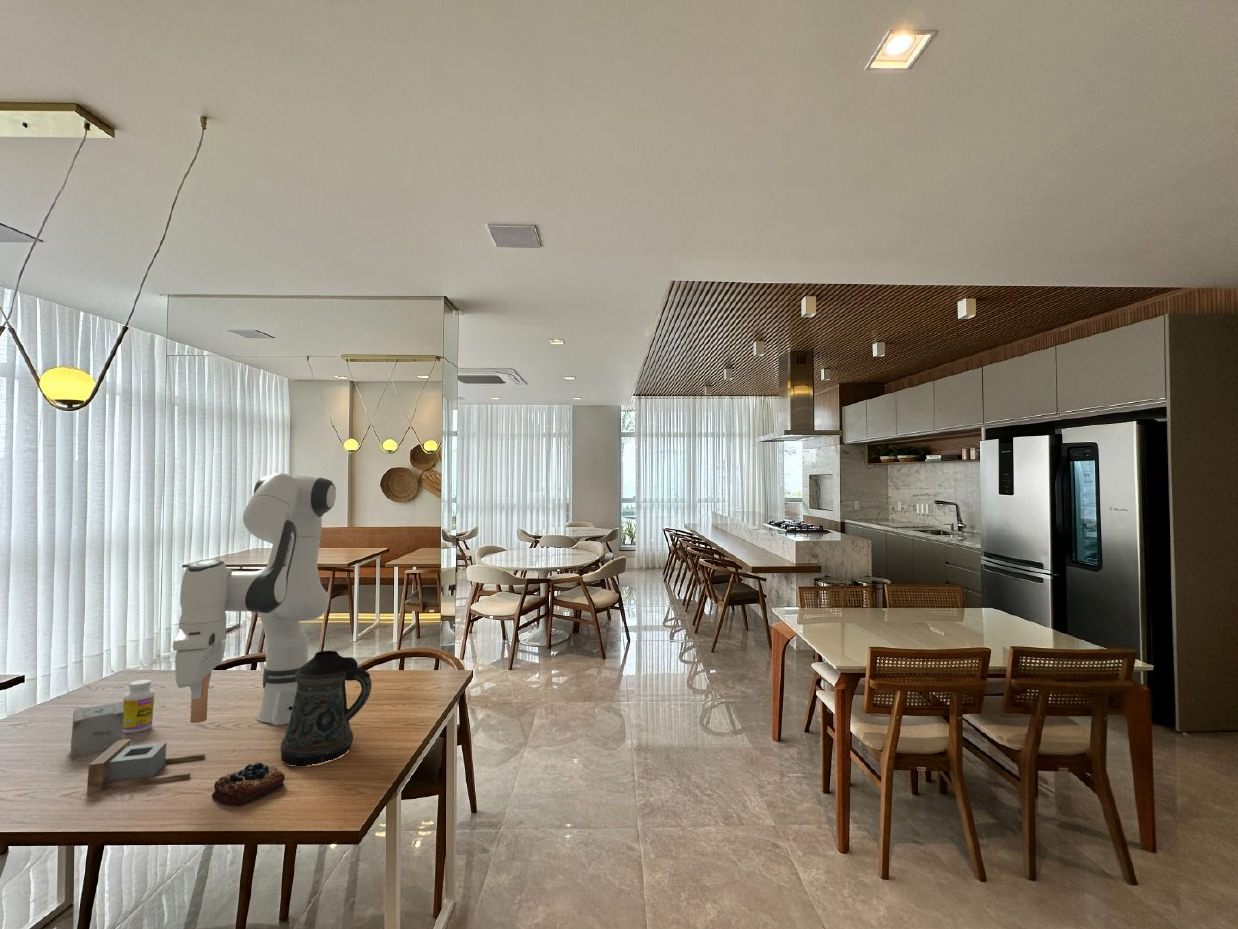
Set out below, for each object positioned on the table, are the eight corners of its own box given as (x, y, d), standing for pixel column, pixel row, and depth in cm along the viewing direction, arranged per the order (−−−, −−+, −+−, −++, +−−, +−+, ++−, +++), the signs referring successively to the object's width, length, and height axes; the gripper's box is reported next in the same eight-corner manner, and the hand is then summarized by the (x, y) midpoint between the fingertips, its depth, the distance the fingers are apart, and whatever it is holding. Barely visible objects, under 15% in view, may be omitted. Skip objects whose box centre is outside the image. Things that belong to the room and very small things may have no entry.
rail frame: (206, 755, 146) (207, 731, 146) (187, 780, 133) (189, 753, 133) (115, 766, 140) (117, 740, 140) (86, 793, 127) (88, 764, 127)
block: (165, 763, 141) (166, 742, 141) (150, 780, 133) (152, 757, 133) (124, 768, 138) (125, 746, 138) (106, 785, 130) (108, 762, 130)
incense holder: (69, 761, 142) (72, 717, 143) (70, 750, 148) (73, 708, 149) (122, 750, 149) (125, 708, 150) (120, 740, 155) (123, 699, 156)
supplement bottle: (134, 735, 158) (137, 686, 159) (114, 733, 160) (118, 684, 160) (158, 726, 165) (161, 679, 166) (139, 724, 166) (142, 677, 167)
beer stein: (273, 751, 149) (278, 651, 151) (354, 733, 161) (358, 641, 163) (287, 774, 136) (292, 665, 138) (373, 753, 149) (377, 652, 151)
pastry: (204, 800, 125) (205, 772, 125) (257, 777, 136) (259, 751, 136) (238, 811, 120) (240, 782, 121) (291, 786, 131) (292, 759, 132)
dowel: (208, 717, 134) (210, 664, 135) (204, 722, 131) (206, 667, 132) (192, 719, 133) (195, 665, 134) (188, 723, 130) (190, 669, 131)
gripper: (200, 624, 142) (198, 682, 141) (169, 644, 123) (166, 712, 122) (231, 622, 144) (228, 680, 143) (205, 642, 125) (202, 708, 124)
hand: (200, 695), depth 132 cm, fingers closed on dowel, 3 cm apart
